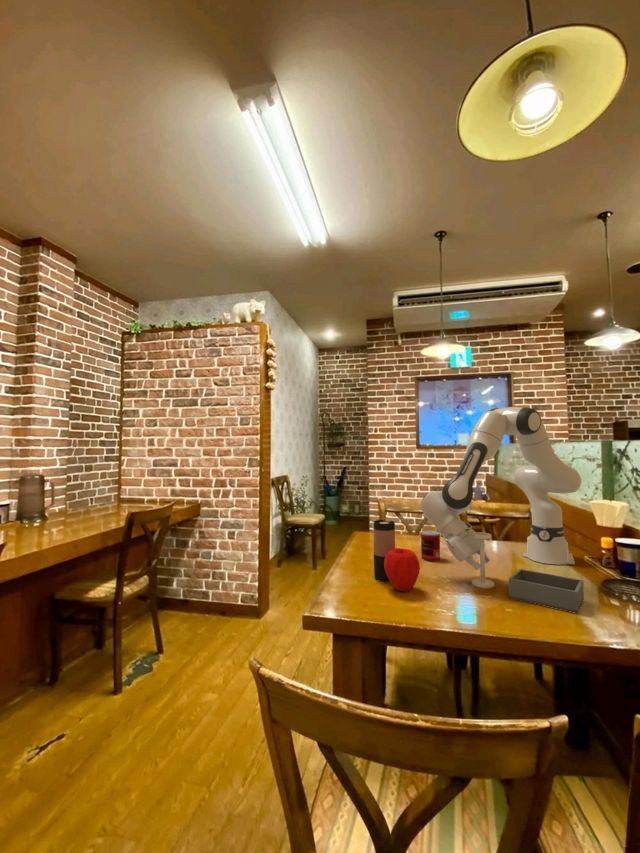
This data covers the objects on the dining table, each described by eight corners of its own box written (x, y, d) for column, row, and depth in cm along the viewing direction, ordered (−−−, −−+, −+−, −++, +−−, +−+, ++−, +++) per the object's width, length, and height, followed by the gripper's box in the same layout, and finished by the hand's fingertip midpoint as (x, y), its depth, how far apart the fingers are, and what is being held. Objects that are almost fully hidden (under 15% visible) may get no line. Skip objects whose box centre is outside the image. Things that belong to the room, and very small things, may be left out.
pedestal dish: (475, 579, 139) (474, 530, 140) (496, 584, 134) (495, 533, 135) (468, 585, 134) (467, 534, 134) (490, 590, 129) (489, 537, 130)
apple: (377, 585, 133) (376, 545, 133) (406, 581, 137) (406, 542, 138) (395, 598, 122) (395, 554, 122) (427, 593, 126) (427, 551, 126)
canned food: (438, 556, 169) (437, 530, 169) (442, 562, 161) (441, 534, 161) (419, 556, 169) (419, 530, 170) (422, 561, 161) (422, 534, 162)
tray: (519, 586, 132) (519, 568, 132) (583, 600, 121) (583, 580, 121) (509, 598, 122) (508, 578, 122) (577, 614, 111) (577, 592, 111)
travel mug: (379, 583, 136) (378, 524, 137) (370, 576, 143) (370, 520, 144) (399, 581, 138) (398, 523, 139) (389, 574, 145) (389, 519, 146)
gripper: (449, 531, 132) (480, 567, 125) (470, 522, 147) (499, 553, 140) (437, 542, 134) (466, 578, 127) (459, 532, 150) (486, 564, 143)
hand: (483, 565), depth 134 cm, fingers open, 8 cm apart
